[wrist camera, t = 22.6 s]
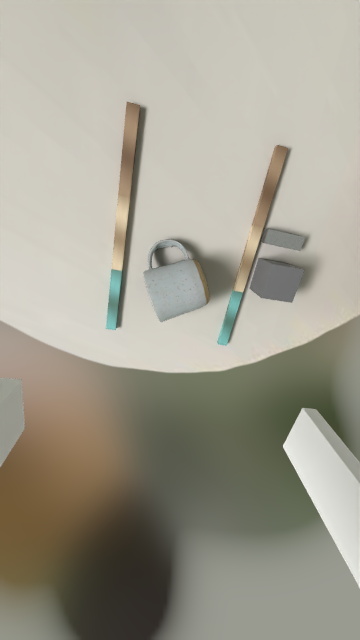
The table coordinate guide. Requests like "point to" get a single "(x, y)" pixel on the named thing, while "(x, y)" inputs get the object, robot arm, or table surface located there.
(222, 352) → the table surface
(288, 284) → the block
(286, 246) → the bar
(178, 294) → the ceramic mug
